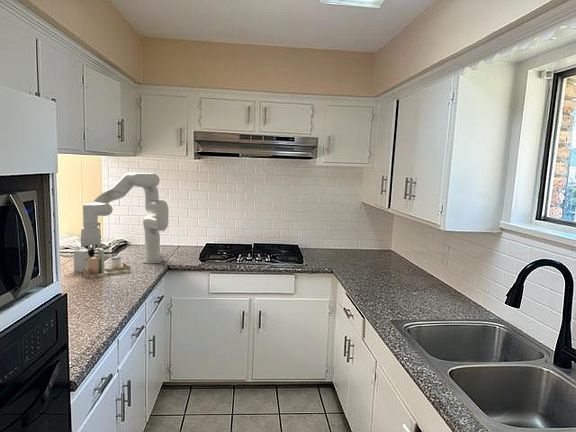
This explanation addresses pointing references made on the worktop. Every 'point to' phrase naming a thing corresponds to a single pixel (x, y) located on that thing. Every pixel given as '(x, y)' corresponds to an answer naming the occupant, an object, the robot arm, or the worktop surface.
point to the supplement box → (81, 259)
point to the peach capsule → (94, 265)
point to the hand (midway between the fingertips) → (91, 256)
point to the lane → (125, 267)
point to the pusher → (101, 260)
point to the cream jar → (115, 261)
